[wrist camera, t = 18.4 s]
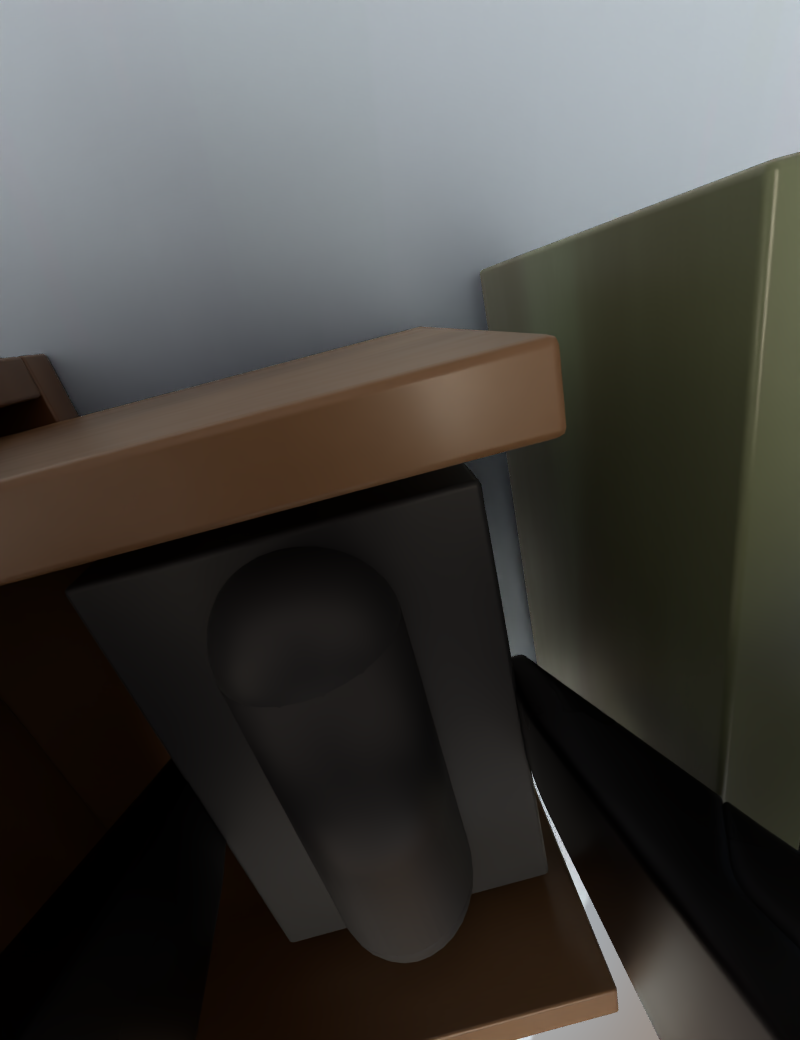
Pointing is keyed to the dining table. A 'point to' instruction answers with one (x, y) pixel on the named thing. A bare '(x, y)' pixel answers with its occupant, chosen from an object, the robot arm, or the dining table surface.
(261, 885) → the raised capsule plate
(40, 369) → the cabinet
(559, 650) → the drawer
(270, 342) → the dining table surface
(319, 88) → the dining table surface
